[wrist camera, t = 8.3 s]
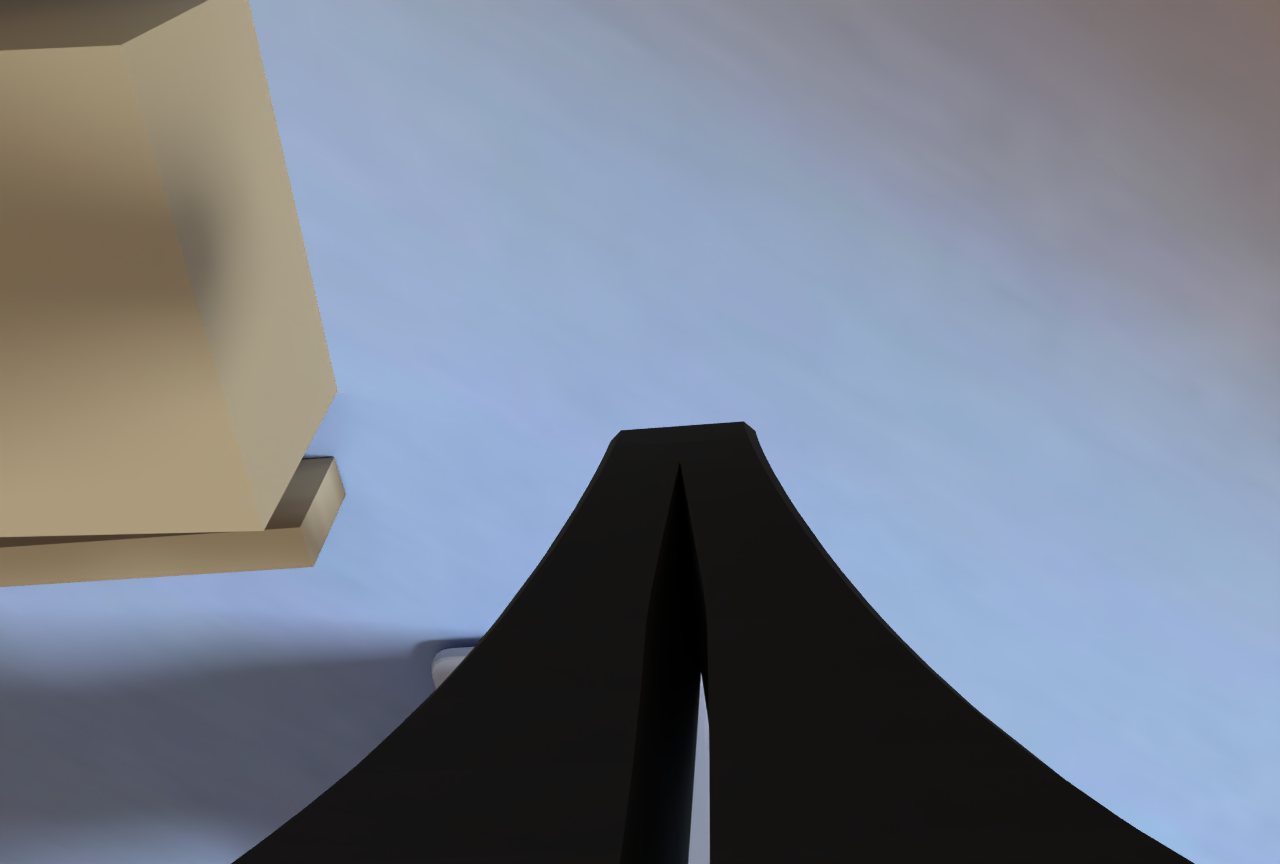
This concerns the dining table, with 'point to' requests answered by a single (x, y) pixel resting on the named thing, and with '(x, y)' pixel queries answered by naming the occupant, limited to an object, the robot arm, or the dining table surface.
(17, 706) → the dining table surface
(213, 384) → the carton
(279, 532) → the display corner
